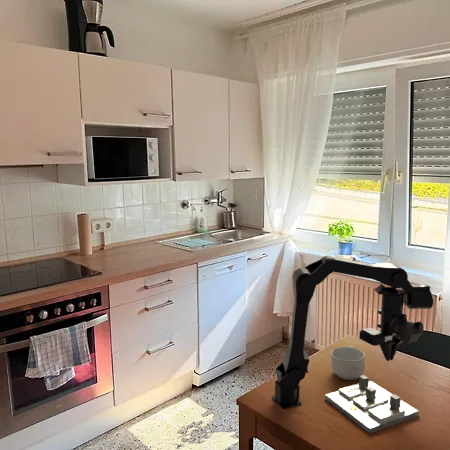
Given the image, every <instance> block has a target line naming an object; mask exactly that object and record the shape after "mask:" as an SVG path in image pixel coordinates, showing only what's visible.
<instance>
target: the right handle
mask: <svg viewBox="0 0 450 450" xmlns="http://www.w3.org/2000/svg"><path fill="white" fill-rule="evenodd" d="M401 400H402V398H401V397H400V396H398V395H397V394H396V393H395V394H393V395H391V396H390V406H391V407H392V408H394V409H398V408H400V401H401Z"/></svg>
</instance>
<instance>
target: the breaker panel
mask: <svg viewBox="0 0 450 450" xmlns="http://www.w3.org/2000/svg"><path fill="white" fill-rule="evenodd" d="M368 387H373V388H374V389H376V400H373V401H370V400H369V399H367V398H366V388H362V387H360V386H359V382H358V383H356V384H352V385H349V386H345V387H342V388H339V389H338V390H335V391H333V392H329V393H326V394H324V398H325V399H324V400H326V402H328V403H330V405H332V406H333V407H334V408H336V409H337V410H339V412H341V413H342V414H344V416H345V417H347V418H349V419H350V420H351V421H353V423H355V424H356V425H357V426H358V427H360V428H361V429H362V430H364V431H365V432H366V433H368V434H373V433H376V432H379V431H381V430H383V429H386V428H389V427H392V426H395V425H397V424H401V423H403V422H406V421H409V420H412V419H414V418H417V417H419V416H420V415H419V414H420V411H419V410H418V409H417V408H415V407H413V406H412V405H410V404H409V403H407V402H406V401H404V400H402V399H401V401H400V408H398V409H394V408H392V407H391V406H390V396H391V395H394V394H393V393H391V392H389V391H387V390H386V389H385V388H383V387H381V386H380V385H378V384H377V383H375V382H373V381H371V380H370V381H368Z"/></svg>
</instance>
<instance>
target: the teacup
mask: <svg viewBox="0 0 450 450" xmlns="http://www.w3.org/2000/svg"><path fill="white" fill-rule="evenodd" d="M365 357H366V353H365V352H364V351H363V350H361V349H359V348H356V347H355V346H354V345H348V346H340V347H339V346H338V347H336V348H333V349H332V350H331V351H330V362H331V369H332V371H333V373H334V374H335V375H337V376H338V378H340V379H342V380H345V381H354V380H358V379H359V376H362V375H364V373H365V367H366V366H365V364H366V363H365V362H366V361H365Z"/></svg>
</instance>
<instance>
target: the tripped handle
mask: <svg viewBox="0 0 450 450" xmlns="http://www.w3.org/2000/svg"><path fill="white" fill-rule="evenodd" d="M366 398H367V399H369V400H370V401H373V400H376V389H374V388H373V387H367V388H366Z"/></svg>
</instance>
